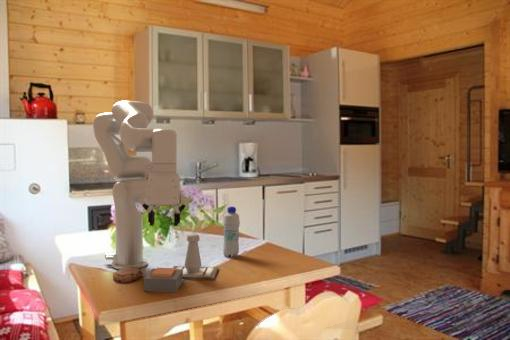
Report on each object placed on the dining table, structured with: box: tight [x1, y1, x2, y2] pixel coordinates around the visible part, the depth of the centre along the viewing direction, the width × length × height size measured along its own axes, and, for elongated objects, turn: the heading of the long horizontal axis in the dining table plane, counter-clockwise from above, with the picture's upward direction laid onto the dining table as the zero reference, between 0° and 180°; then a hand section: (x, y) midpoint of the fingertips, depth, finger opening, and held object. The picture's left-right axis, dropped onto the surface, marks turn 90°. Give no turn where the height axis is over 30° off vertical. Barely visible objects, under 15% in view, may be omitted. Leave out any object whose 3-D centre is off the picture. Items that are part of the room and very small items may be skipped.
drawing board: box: [172, 265, 219, 281], centre depth 151 cm, size 16×12×1 cm
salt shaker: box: [184, 233, 202, 273], centre depth 150 cm, size 6×6×13 cm
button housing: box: [143, 268, 184, 293], centre depth 138 cm, size 10×10×4 cm
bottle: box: [222, 206, 241, 258], centre depth 174 cm, size 7×7×20 cm
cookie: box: [112, 267, 144, 284], centre depth 146 cm, size 10×11×3 cm
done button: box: [152, 267, 176, 277], centre depth 138 cm, size 6×6×3 cm
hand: (164, 224), depth 137 cm, fingers open, 7 cm apart
